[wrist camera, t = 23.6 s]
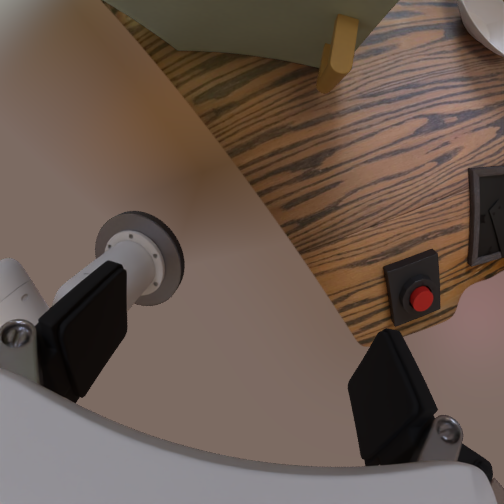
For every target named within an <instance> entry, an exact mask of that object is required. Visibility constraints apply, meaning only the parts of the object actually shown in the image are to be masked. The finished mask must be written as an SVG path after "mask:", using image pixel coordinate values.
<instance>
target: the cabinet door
mask: <svg viewBox="0 0 504 504" xmlns="http://www.w3.org/2000/svg"><path fill="white" fill-rule="evenodd" d="M103 1H105V2H107V3H108V4H110V5H112V6H113V7H115V8H117V9H118V10H120V11H121V12H123V13H125V14H126V15H128V16H129V17H131V18H132V19H134V20H135V21H137V22H138V23H140V24H141V25H143V26H144V27H146V28H147V29H149V30H150V31H152V32H153V33H154V34H156V35H157V36H159V37H160V38H161V39H163V40H164V41H166V42H167V43H168V44H170V45H171V46H172V47H174V48H175V49H176V50H178V51H207V52H222V53H234V54H243V55H251V56H259V57H266V58H272V59H278V60H283V61H289V62H294V63H299V64H303V65H308V66H312V67H316V68H319V73H318V78H317V83H316V88H317V90H318V91H319V92H321V93H323V94H326V93H329V92H330V91H331V90H332V89H333V88H334V87H335V86H336V85H337V84H338V83H339V82H340V81H341V80H342V79H343V78H344V77H345V76H346V75H347V74H348V73H349V72H350V70H351V68H352V64H353V57H354V52H355V51H356V50H357V48H358V47H359V46H360V45H361V44H362V42H363V41H364V40H365V39H366V38H367V36H368V35H369V34H370V33H371V32H372V31H373V29H374V28H375V27H376V26H377V25H378V24H379V22H380V21H381V20H382V19H383V18H384V17H385V16H386V14H387V13H388V12H389V11H390V10H391V9H392V8H393V7H394V6H395V4H396V3H397V2H398V1H399V0H103Z"/></svg>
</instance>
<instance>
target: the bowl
mask: <svg viewBox="0 0 504 504" xmlns="http://www.w3.org/2000/svg"><path fill="white" fill-rule="evenodd" d="M457 2H458V8H459V11H460V14H461V19H462V22H463V24H464V26H465V28H466V29H467V31H468V32H469V33H470V35H471V36H472V37H473V38H475V39H476V40H477V41H479V42H481V43H482V44H483V45H484V46H485V47H486V48H488V49H489V50H491V51H492V52H494V53H496V54H498V55H500V56H503V57H504V2H503V1H502V0H457Z"/></svg>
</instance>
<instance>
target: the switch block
mask: <svg viewBox="0 0 504 504" xmlns="http://www.w3.org/2000/svg"><path fill="white" fill-rule="evenodd" d="M383 268H384V273H385V279H386V285H387V291H388V297H389V304H390V311H391V319H392V322H393V324H394V326H395V327H396V326H398V325H401V324H404V323H406V322H409V321H412V320H414V319H417V318H419V317H422V316H424V315H427V314H429V313H432V312H434V311H436V310H439V309H440V280H439V264H438V253H436V252H435V251H434V250H433V249H430V250H428V251H425V252H422V253H420V254H417V255H414V256H412V257H409V258H406V259H404V260H401V261H398V262H395V263H392V264H390V265H387V266H384V267H383ZM420 286H425V287H427V288H428V289H429V290H430V292H431V293H432V294H433V302H432V304H431V306H430V307H429V308H428V309H426V310H424V311H416V310H415V309H414V307H413V306H412V304H411V303H410V296H411V294H412V292H413V291H414V290H415V289H416V288H418V287H420Z"/></svg>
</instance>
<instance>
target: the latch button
mask: <svg viewBox="0 0 504 504" xmlns="http://www.w3.org/2000/svg"><path fill="white" fill-rule="evenodd" d="M432 302H433V294H432V293H431V292H430V290H429V289H428V288H427V287H425V286H420V287H418V288H416V289H415V290H414V291H413V292H412V294H411V296H410V303H411V304H412V306H413V307H414V309H415V310H416V311H424V310H426V309H428V308H429V307H430V306H431V304H432Z"/></svg>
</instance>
